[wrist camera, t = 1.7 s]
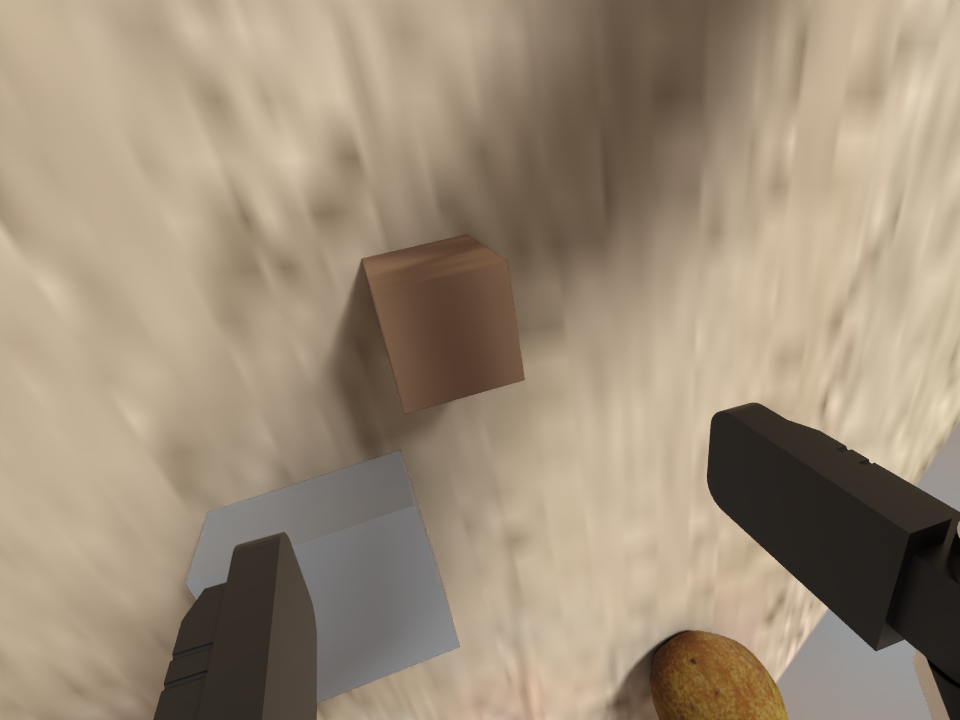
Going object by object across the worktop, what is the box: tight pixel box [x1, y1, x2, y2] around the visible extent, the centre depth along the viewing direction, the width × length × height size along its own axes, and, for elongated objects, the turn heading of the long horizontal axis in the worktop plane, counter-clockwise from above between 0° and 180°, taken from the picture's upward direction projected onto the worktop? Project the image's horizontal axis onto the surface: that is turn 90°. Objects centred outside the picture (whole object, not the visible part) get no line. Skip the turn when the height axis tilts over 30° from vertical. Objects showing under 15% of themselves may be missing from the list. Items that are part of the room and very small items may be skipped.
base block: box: [185, 450, 460, 703], centre depth 27 cm, size 10×10×5 cm
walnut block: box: [362, 235, 525, 414], centre depth 22 cm, size 5×5×6 cm
